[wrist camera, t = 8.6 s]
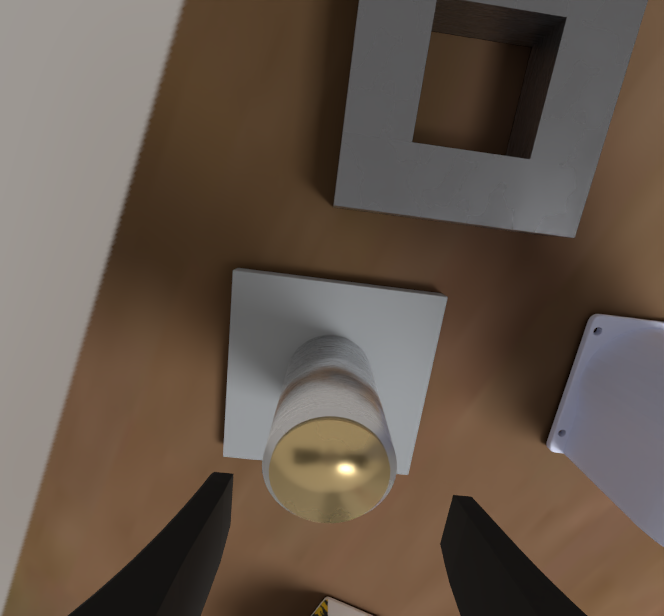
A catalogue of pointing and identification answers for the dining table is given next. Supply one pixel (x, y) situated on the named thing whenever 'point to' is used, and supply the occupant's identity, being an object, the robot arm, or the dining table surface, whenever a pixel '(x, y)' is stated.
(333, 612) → the medicine bottle
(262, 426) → the mat
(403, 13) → the housing
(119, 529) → the dining table surface
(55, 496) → the dining table surface
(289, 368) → the white gold-topped cylinder
